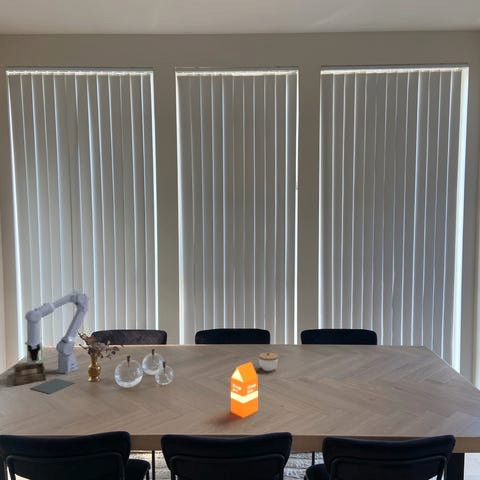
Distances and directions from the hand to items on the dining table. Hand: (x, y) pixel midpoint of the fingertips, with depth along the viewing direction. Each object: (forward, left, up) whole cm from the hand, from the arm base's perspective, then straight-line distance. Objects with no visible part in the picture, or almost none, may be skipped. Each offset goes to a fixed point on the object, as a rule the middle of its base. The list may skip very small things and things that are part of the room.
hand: (34, 359), depth 198 cm
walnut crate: (+5, -1, -10) cm, 12 cm away
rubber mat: (-17, +3, -10) cm, 21 cm away
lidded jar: (-107, -64, -11) cm, 125 cm away
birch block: (0, 0, -1) cm, 1 cm away
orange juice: (-116, -14, -11) cm, 117 cm away
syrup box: (+21, -15, -11) cm, 28 cm away
